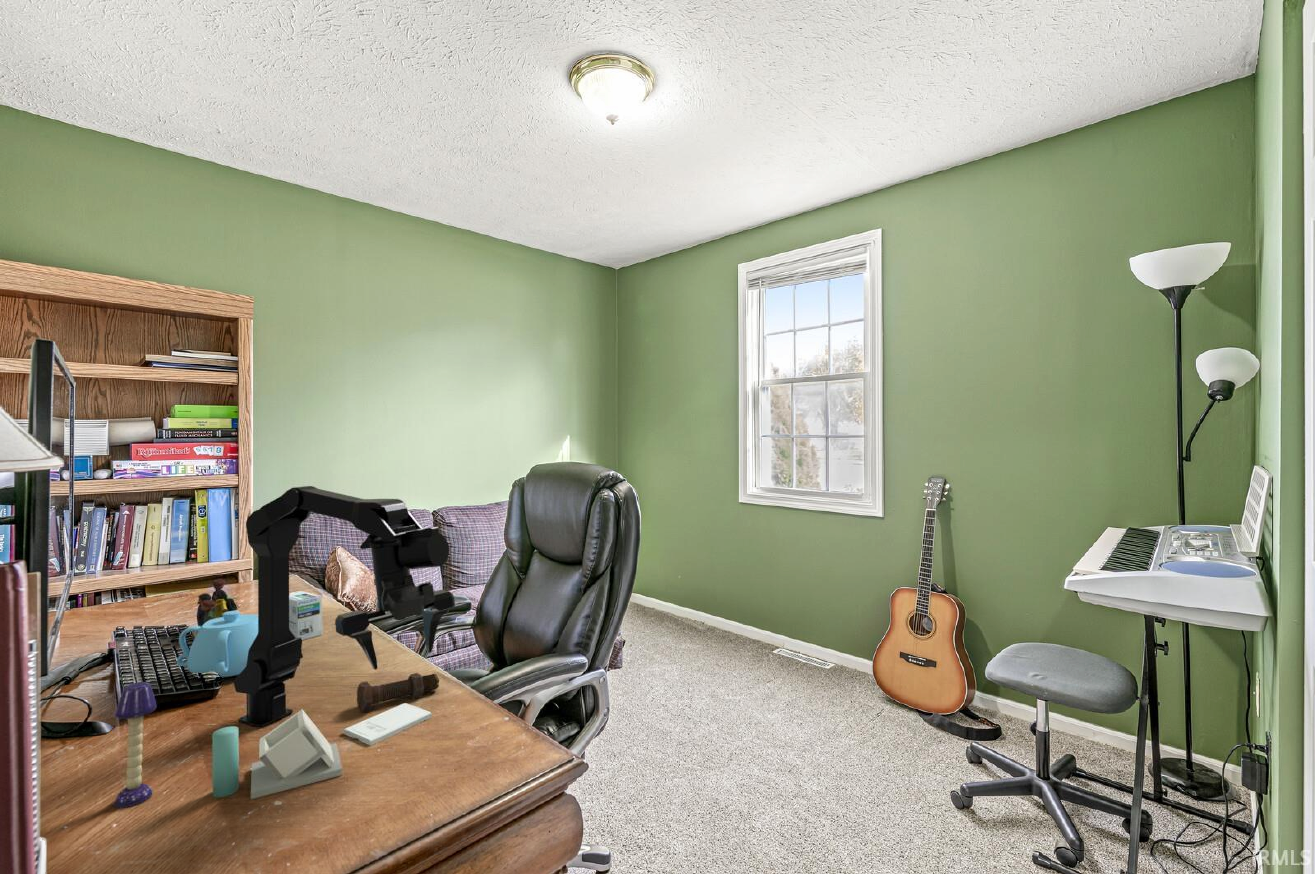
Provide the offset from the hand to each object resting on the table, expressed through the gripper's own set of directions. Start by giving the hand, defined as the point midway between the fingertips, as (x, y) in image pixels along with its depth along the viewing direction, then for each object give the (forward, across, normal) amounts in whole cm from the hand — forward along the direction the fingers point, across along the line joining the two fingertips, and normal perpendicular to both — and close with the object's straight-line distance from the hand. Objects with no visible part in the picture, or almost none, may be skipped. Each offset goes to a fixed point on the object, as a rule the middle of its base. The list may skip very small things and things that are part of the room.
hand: (403, 660), depth 108 cm
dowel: (+12, -26, +3) cm, 29 cm away
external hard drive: (+14, -2, +9) cm, 17 cm away
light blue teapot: (+6, -20, +59) cm, 63 cm away
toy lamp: (+10, -37, +9) cm, 39 cm away
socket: (+12, -17, +2) cm, 21 cm away
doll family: (+1, -21, +95) cm, 97 cm away
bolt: (+13, +4, +19) cm, 23 cm away
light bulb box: (+5, -3, +78) cm, 78 cm away
